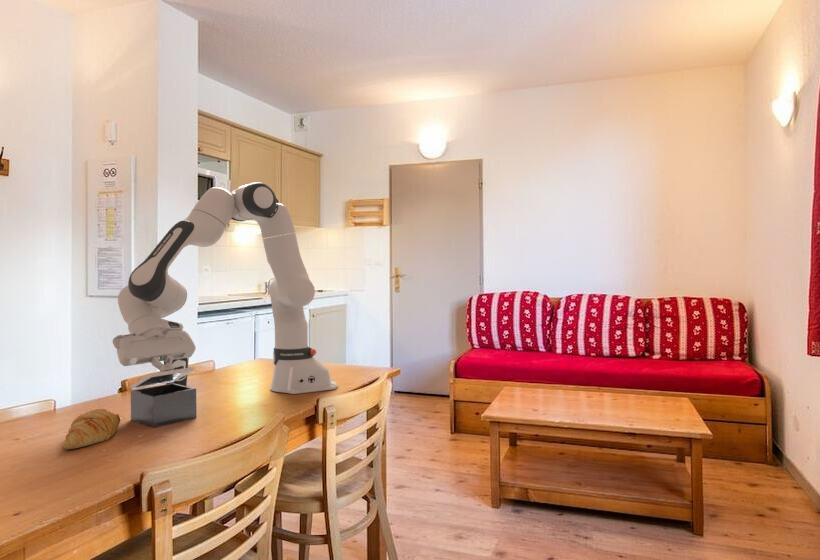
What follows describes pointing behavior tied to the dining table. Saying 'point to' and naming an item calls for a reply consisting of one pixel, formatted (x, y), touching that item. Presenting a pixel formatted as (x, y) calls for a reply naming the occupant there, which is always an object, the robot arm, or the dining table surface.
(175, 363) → the coffee cup
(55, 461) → the dining table surface
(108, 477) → the dining table surface
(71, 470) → the dining table surface
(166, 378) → the lid
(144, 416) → the grey box
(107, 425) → the croissant
